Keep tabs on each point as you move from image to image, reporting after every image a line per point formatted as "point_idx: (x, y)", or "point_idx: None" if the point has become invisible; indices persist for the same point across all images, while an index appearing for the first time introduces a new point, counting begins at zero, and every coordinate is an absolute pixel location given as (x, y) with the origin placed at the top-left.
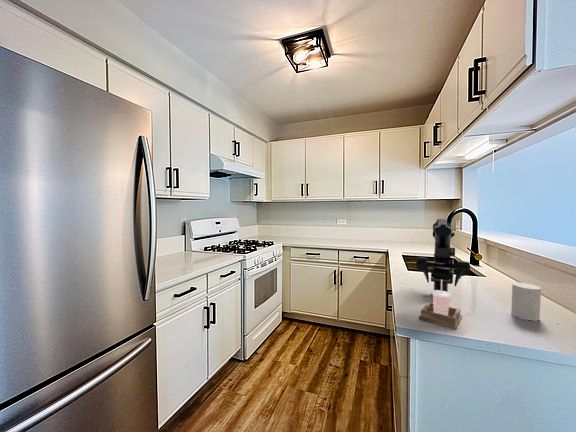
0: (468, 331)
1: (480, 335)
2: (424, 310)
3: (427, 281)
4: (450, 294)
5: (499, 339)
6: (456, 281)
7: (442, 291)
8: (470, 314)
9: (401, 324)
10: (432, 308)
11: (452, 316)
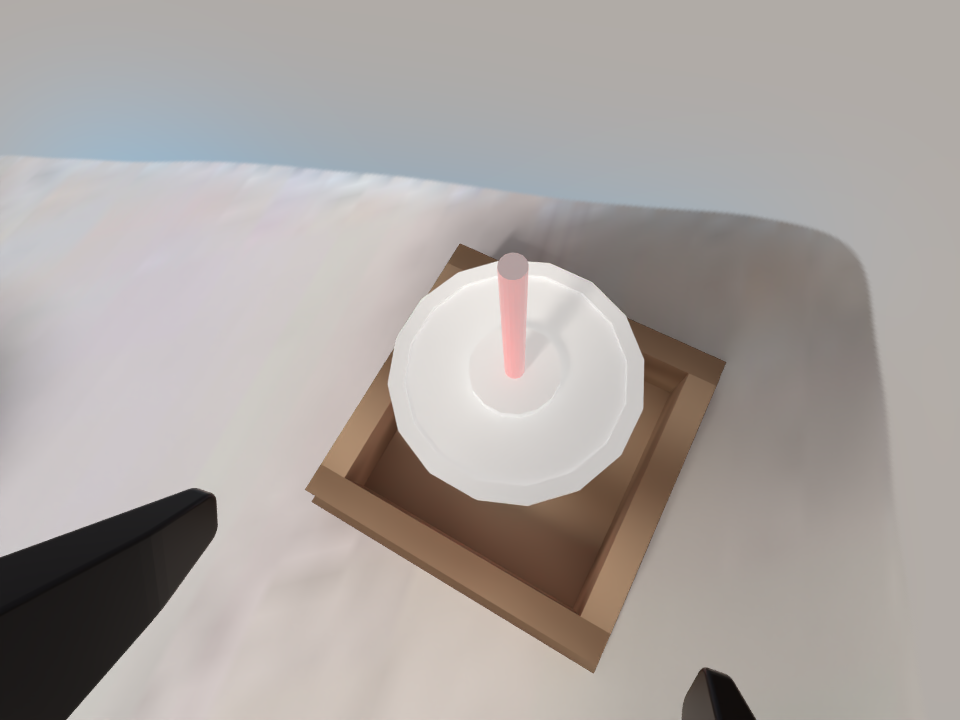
0: (387, 266)
1: (337, 229)
2: (689, 366)
3: (727, 688)
4: (407, 324)
5: (249, 205)
6: (118, 523)
7: (470, 458)
8: (188, 627)
9: (855, 261)
10: (554, 598)
11: (409, 460)
